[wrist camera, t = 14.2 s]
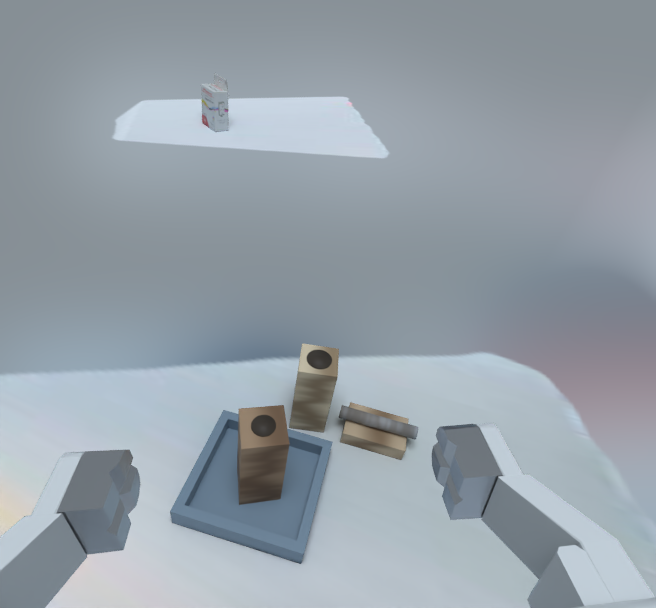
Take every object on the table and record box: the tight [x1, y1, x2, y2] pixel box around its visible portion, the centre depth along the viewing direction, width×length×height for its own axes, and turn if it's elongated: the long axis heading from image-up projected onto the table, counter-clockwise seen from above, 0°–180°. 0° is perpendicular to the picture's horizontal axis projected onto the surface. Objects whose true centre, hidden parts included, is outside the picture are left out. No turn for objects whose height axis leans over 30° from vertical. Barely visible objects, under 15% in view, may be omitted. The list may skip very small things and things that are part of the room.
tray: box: [170, 410, 332, 564], centre depth 48 cm, size 14×13×2 cm
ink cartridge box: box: [201, 74, 228, 132], centre depth 132 cm, size 9×5×15 cm, turn 40°
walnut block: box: [237, 405, 290, 505], centre depth 45 cm, size 4×4×11 cm
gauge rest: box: [339, 402, 418, 460], centre depth 55 cm, size 10×5×4 cm, turn 77°
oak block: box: [289, 344, 339, 432], centre depth 54 cm, size 4×4×11 cm
